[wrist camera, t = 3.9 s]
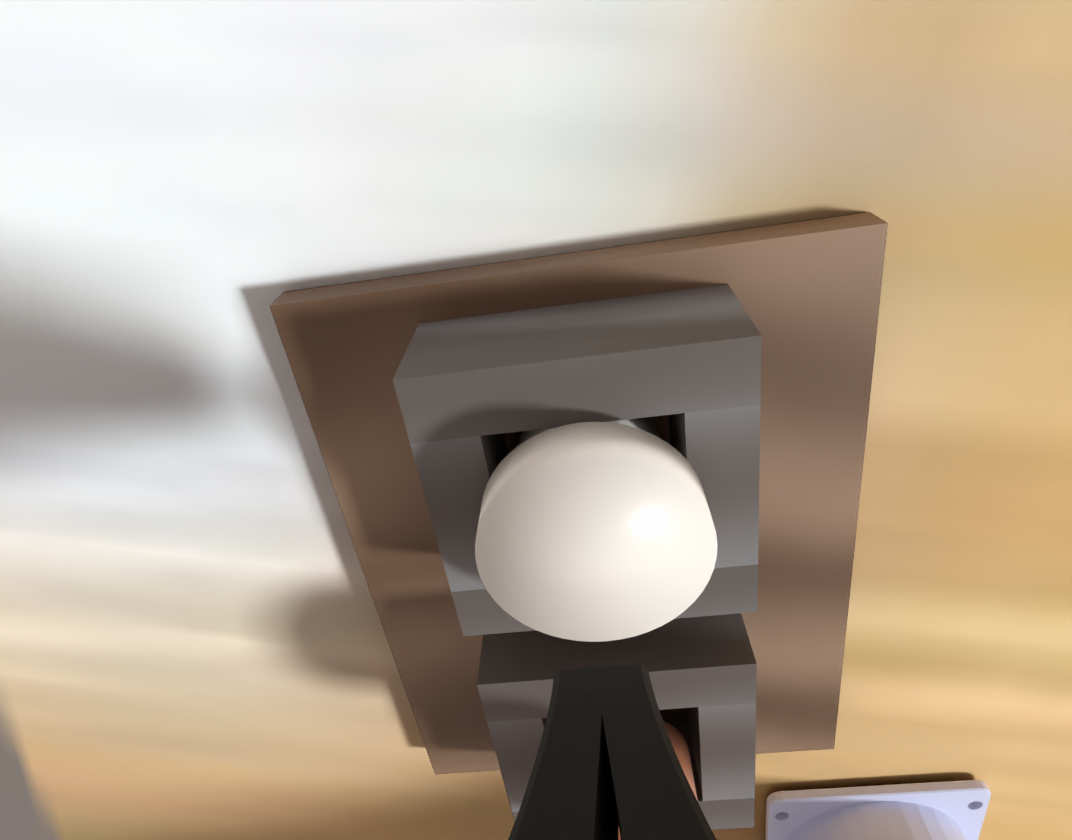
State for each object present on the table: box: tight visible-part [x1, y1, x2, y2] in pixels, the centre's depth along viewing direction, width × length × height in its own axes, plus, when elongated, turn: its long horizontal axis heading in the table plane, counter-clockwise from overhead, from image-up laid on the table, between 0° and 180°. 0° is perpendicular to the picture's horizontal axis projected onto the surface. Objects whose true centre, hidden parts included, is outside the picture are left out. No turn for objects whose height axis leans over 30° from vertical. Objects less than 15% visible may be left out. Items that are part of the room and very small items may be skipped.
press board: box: [270, 212, 888, 830], centre depth 19 cm, size 18×14×4 cm
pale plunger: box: [475, 416, 717, 642], centre depth 16 cm, size 5×5×4 cm
